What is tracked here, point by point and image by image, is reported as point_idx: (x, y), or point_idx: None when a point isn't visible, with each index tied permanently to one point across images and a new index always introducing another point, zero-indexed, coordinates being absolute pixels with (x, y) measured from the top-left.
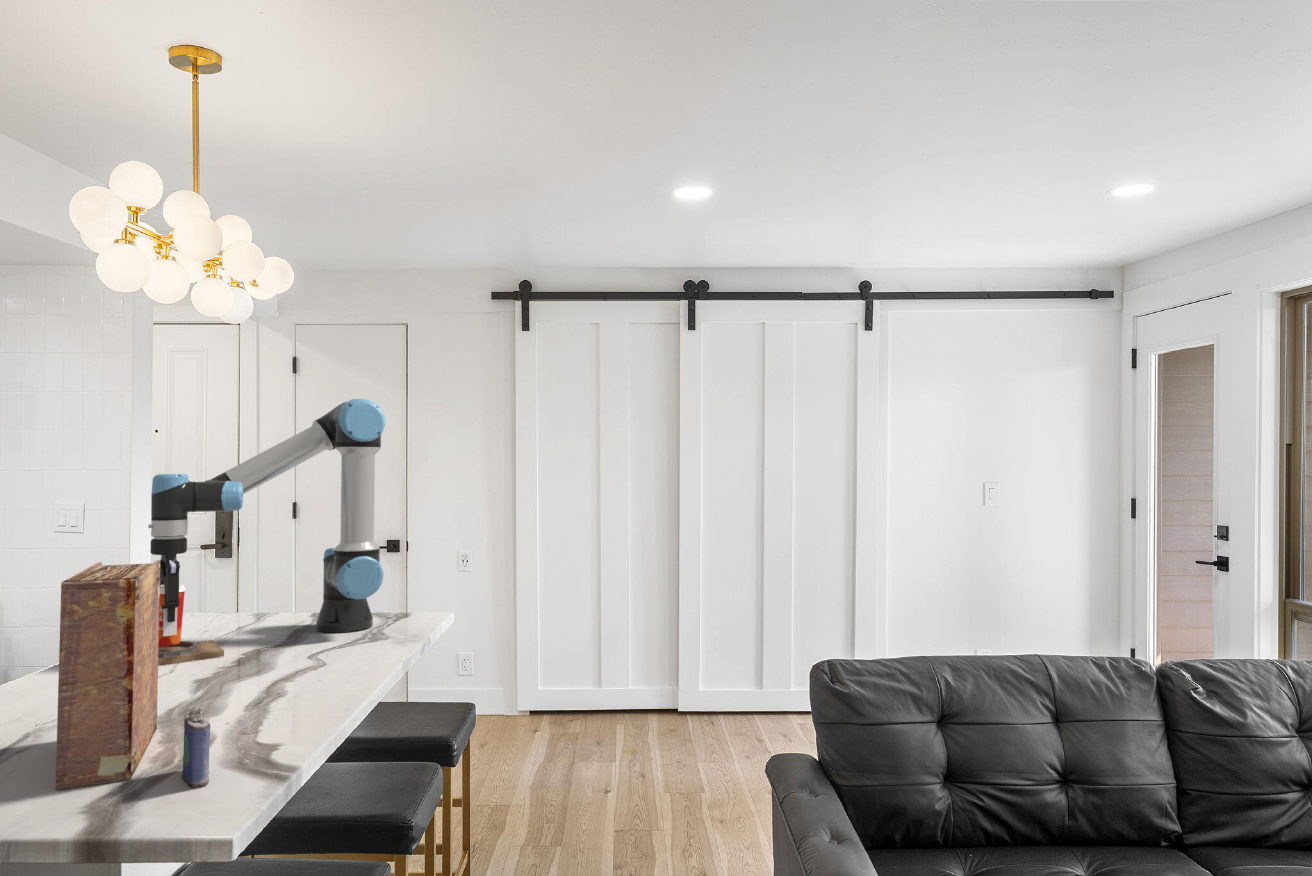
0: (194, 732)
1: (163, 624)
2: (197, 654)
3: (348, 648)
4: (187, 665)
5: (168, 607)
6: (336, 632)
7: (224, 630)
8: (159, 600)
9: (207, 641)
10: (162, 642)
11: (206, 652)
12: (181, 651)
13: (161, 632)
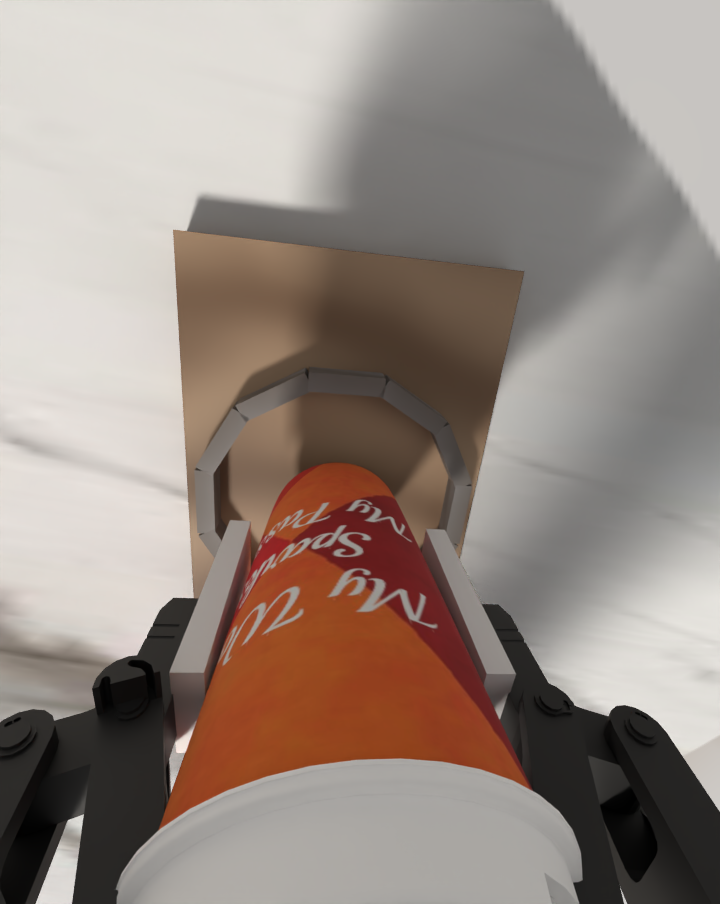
0: None
1: (227, 566)
2: (194, 578)
3: (72, 884)
4: (121, 516)
5: (94, 710)
6: None
7: (658, 714)
8: None
9: None
10: (277, 500)
11: None
12: (206, 539)
13: (267, 526)
